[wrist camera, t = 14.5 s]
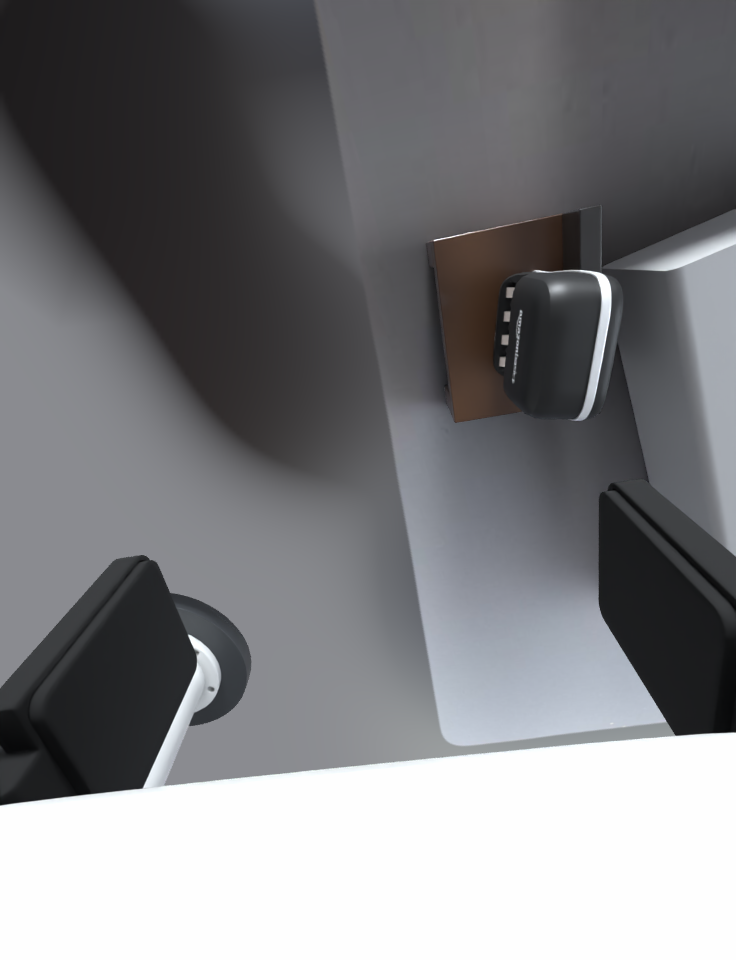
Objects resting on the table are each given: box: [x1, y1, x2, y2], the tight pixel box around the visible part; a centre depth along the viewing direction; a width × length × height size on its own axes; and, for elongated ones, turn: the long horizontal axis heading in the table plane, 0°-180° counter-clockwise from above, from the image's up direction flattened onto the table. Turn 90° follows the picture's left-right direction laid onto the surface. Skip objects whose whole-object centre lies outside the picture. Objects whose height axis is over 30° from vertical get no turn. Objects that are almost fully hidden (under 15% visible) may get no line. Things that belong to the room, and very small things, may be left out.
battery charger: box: [493, 270, 623, 421], centre depth 27 cm, size 7×4×11 cm, turn 1°
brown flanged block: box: [426, 205, 602, 423], centre depth 33 cm, size 9×12×8 cm
